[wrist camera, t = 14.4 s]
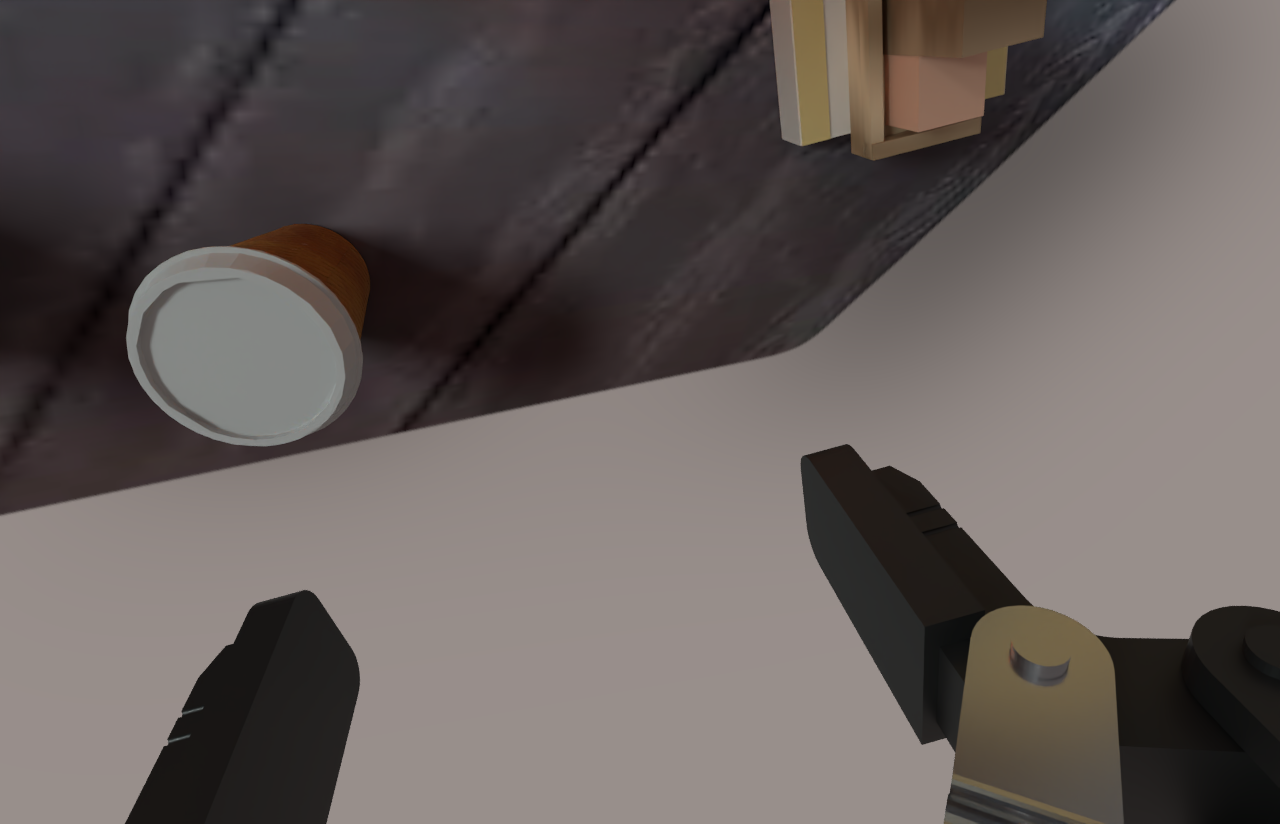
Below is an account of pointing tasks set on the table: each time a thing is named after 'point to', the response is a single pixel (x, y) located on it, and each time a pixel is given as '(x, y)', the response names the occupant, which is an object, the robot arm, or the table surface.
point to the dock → (827, 69)
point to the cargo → (933, 90)
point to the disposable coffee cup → (253, 335)
